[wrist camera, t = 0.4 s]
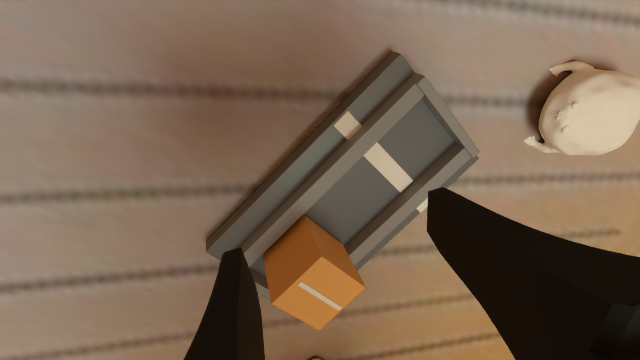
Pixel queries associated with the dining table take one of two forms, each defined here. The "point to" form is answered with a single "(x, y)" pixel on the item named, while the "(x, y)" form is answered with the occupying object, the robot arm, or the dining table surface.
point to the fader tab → (310, 274)
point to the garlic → (588, 111)
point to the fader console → (356, 171)
